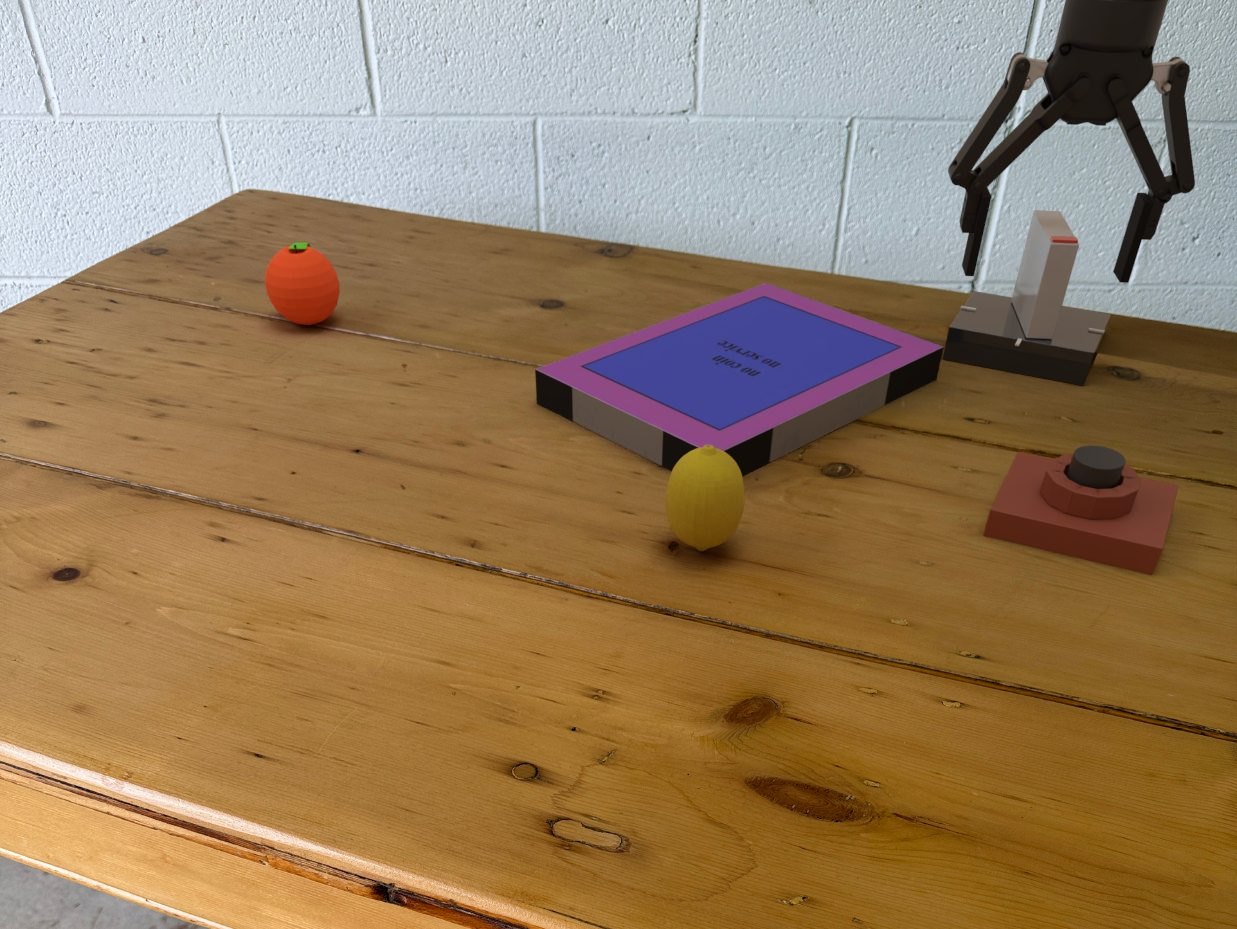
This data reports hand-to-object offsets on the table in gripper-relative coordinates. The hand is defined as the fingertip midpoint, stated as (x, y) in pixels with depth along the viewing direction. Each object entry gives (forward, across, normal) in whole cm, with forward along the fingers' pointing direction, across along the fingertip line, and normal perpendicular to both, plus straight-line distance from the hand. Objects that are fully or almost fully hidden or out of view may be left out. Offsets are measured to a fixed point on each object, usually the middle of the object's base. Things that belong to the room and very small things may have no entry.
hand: (1043, 274), depth 100 cm
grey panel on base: (+4, 0, 0) cm, 4 cm away
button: (+4, -1, -32) cm, 32 cm away
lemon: (+7, -29, -38) cm, 49 cm away
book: (+7, -27, -12) cm, 30 cm away
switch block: (+7, -1, -32) cm, 32 cm away
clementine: (+7, -69, 0) cm, 70 cm away
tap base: (+7, 0, 0) cm, 7 cm away
